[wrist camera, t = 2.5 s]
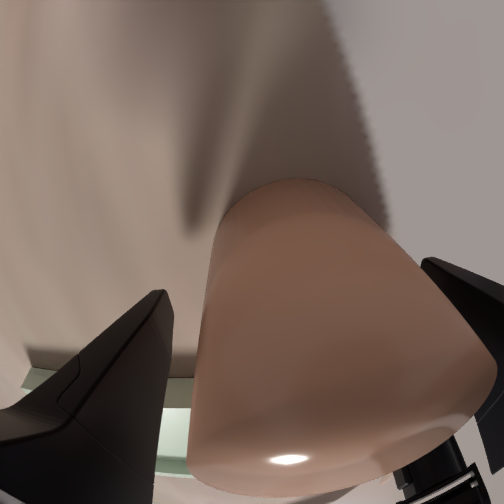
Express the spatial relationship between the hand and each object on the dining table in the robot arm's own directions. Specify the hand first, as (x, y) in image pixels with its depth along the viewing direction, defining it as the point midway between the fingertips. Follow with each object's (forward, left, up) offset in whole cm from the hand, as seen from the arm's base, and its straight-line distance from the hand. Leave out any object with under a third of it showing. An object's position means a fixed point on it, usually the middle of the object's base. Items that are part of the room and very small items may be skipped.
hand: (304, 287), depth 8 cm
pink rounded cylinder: (0, 0, -2) cm, 2 cm away
